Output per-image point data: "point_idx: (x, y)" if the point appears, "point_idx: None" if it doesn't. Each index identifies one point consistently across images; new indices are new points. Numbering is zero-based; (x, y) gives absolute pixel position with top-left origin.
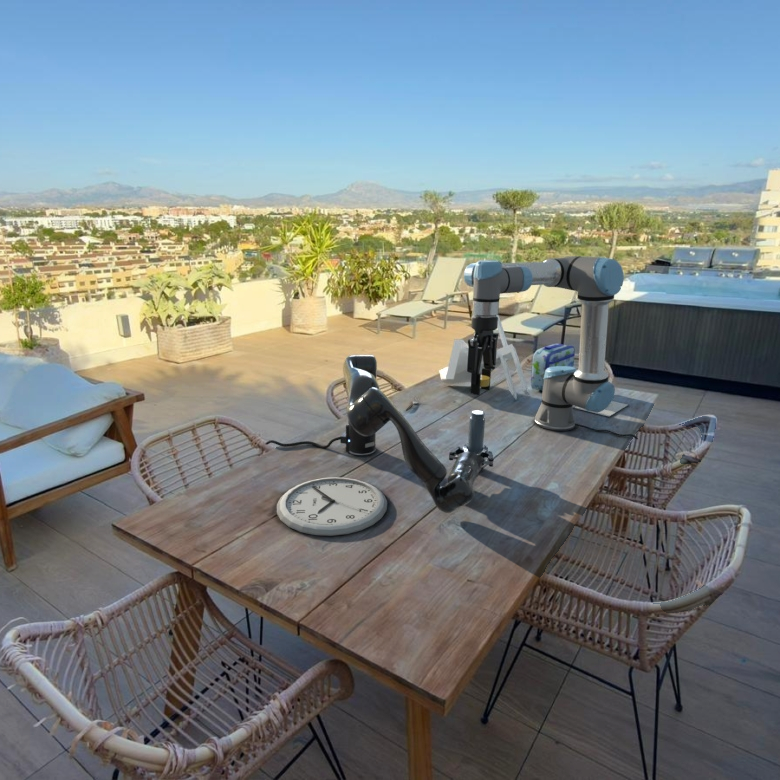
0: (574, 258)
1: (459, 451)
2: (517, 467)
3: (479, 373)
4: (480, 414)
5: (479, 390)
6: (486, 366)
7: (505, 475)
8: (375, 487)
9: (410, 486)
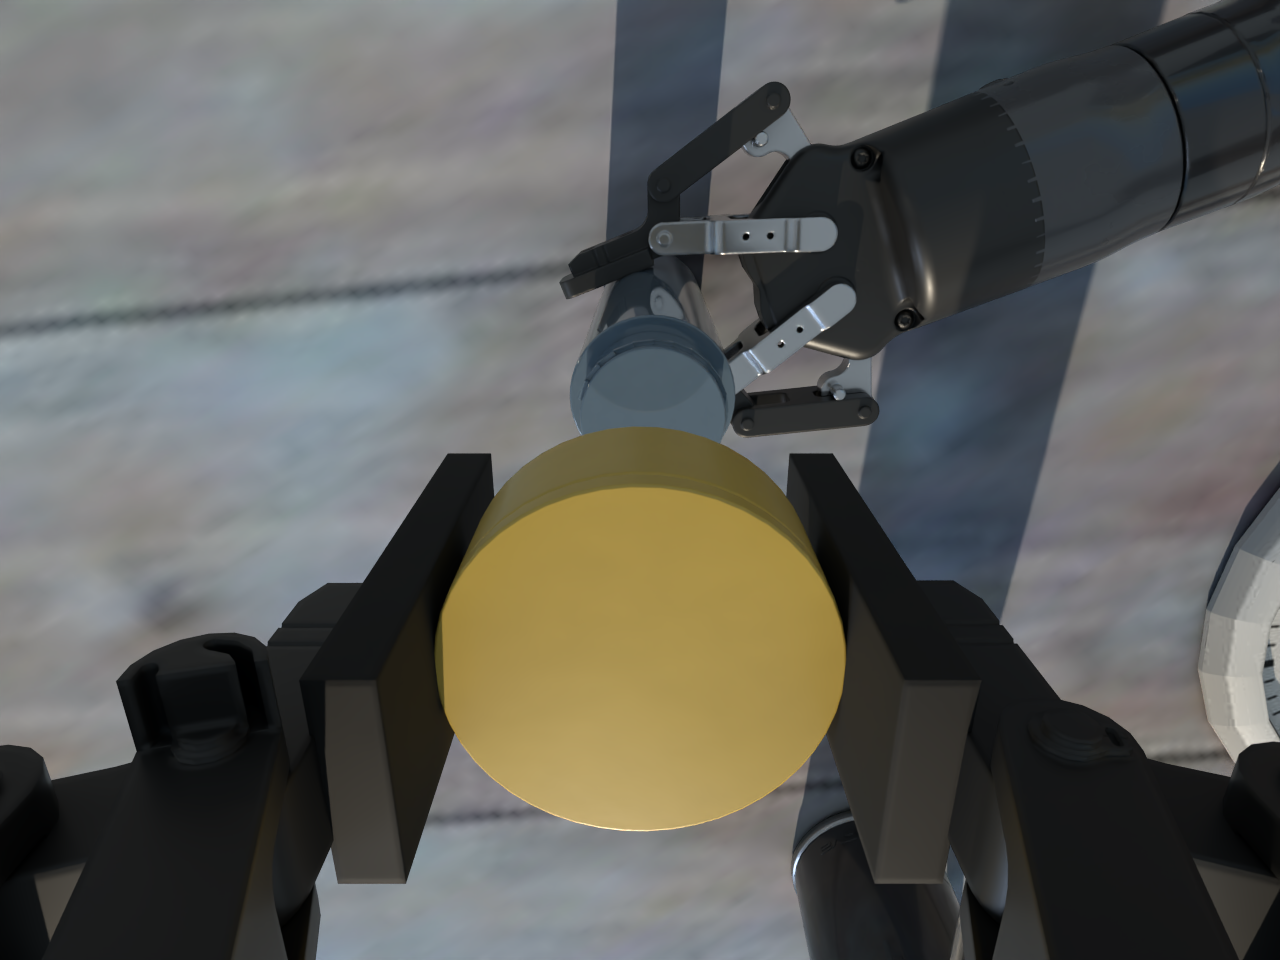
0: None
1: (751, 400)
2: (413, 72)
3: (905, 716)
4: (695, 360)
5: (815, 482)
6: (302, 864)
7: (590, 75)
8: (1262, 561)
9: (1093, 452)
